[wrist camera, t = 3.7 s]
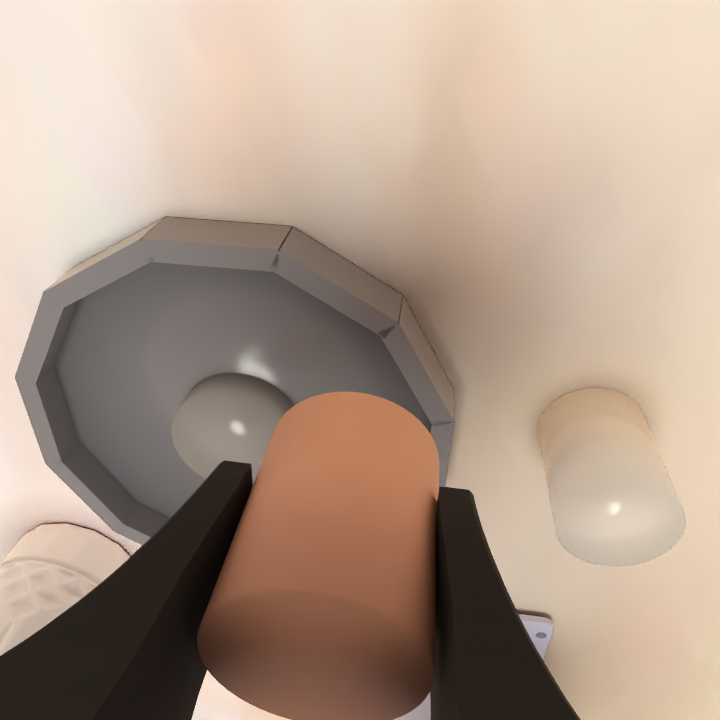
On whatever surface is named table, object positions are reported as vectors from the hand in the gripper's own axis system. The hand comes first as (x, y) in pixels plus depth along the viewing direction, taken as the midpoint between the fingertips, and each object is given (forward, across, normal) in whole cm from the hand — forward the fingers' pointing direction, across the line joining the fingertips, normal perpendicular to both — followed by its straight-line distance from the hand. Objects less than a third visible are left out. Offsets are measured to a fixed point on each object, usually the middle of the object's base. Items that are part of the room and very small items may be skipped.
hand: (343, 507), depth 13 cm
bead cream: (+10, -8, +5) cm, 14 cm away
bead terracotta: (+1, 0, 0) cm, 1 cm away
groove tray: (+10, +6, +6) cm, 13 cm away
